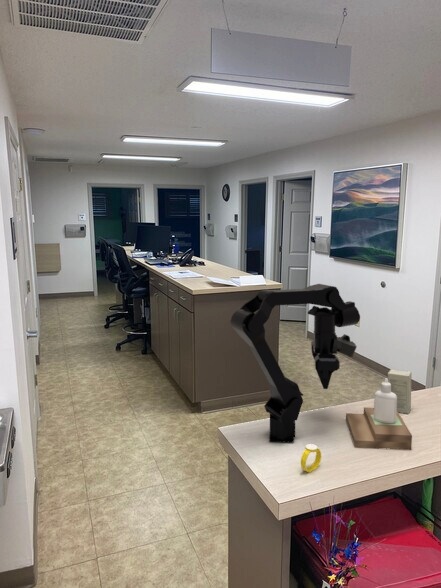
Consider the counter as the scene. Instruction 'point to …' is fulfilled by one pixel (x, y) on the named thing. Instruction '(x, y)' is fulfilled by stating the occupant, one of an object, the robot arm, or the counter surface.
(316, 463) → the watch
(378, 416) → the eye dropper bottle
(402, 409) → the skincare box
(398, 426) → the step riser
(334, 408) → the counter surface
